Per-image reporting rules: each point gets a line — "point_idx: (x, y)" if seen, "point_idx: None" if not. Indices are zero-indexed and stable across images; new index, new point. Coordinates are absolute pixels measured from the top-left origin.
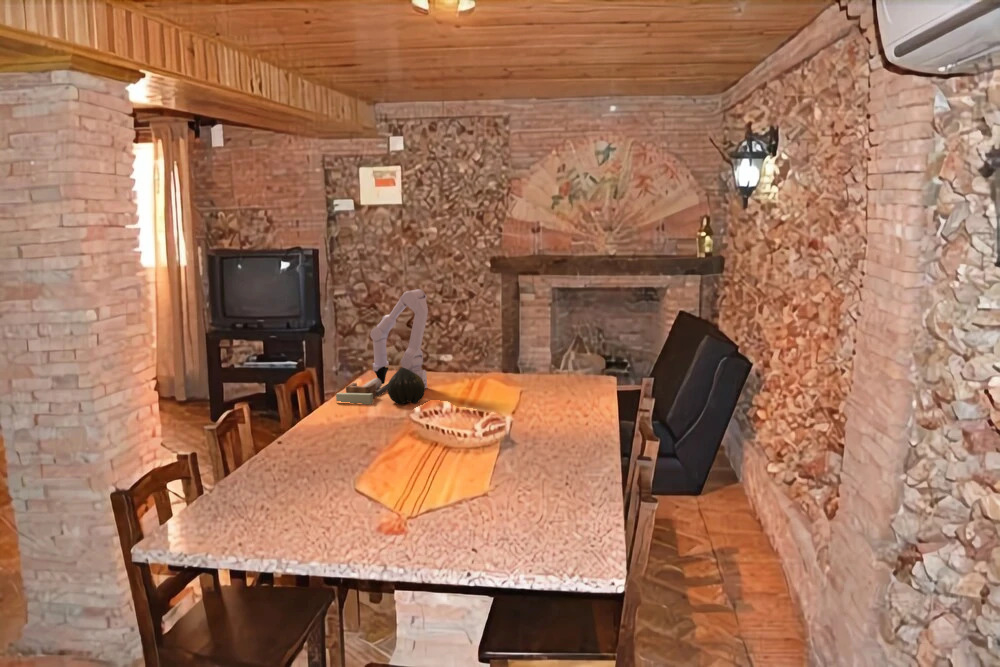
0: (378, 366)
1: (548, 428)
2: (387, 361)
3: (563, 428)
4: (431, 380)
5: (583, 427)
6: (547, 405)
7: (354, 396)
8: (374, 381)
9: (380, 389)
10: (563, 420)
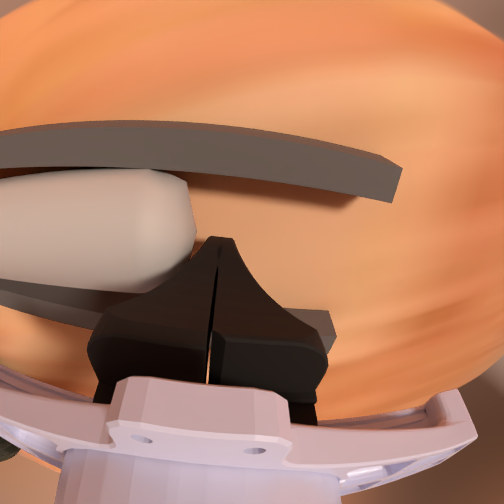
0: (6, 437)
1: (25, 451)
2: (397, 479)
3: (33, 457)
4: (361, 415)
5: (45, 464)
6: None
7: None
8: (1, 278)
9: (1, 299)
10: (56, 467)
